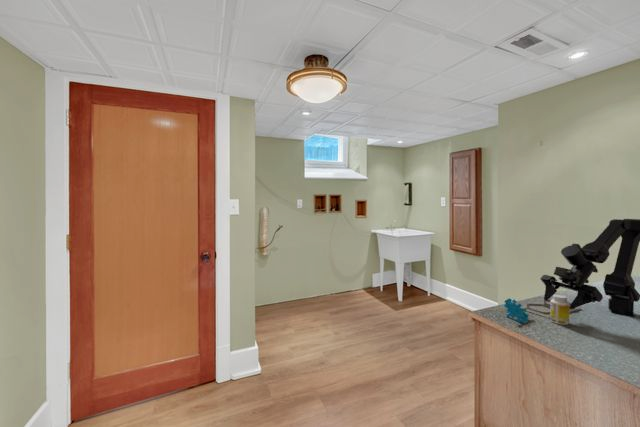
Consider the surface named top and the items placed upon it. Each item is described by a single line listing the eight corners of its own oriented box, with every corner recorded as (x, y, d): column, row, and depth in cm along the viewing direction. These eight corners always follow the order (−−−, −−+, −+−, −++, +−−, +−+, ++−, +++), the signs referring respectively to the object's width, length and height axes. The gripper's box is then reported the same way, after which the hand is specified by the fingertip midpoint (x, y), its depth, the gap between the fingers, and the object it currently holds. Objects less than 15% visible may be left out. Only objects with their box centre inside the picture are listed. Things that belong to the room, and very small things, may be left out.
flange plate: (550, 300, 130) (550, 295, 130) (581, 309, 120) (581, 303, 120) (519, 308, 122) (519, 303, 122) (550, 318, 111) (550, 312, 111)
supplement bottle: (572, 323, 107) (572, 297, 106) (564, 326, 104) (565, 299, 104) (554, 318, 112) (555, 292, 111) (547, 321, 109) (547, 295, 109)
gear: (517, 322, 105) (501, 297, 112) (505, 328, 109) (491, 304, 116) (537, 321, 109) (521, 297, 115) (525, 327, 113) (510, 304, 119)
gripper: (544, 255, 117) (522, 283, 115) (597, 264, 99) (573, 298, 97) (558, 272, 119) (537, 300, 117) (613, 285, 101) (589, 318, 99)
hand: (557, 303), depth 107 cm, fingers open, 9 cm apart
